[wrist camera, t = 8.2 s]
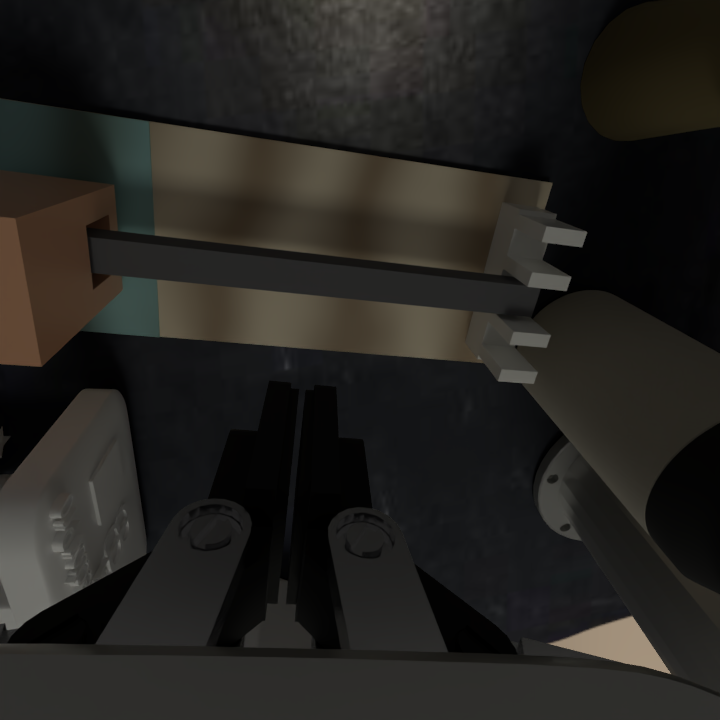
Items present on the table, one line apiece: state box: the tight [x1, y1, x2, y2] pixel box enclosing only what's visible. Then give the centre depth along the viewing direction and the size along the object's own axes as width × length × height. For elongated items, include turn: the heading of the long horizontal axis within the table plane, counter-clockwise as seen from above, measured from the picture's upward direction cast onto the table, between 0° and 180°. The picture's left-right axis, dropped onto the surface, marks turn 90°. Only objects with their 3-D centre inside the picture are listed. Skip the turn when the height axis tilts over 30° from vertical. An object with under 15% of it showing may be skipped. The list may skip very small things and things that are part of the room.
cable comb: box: [465, 202, 587, 384], centre depth 25 cm, size 2×8×6 cm, turn 172°
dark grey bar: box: [86, 228, 541, 317], centre depth 22 cm, size 30×2×2 cm, turn 82°
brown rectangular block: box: [0, 170, 123, 367], centre depth 19 cm, size 5×5×9 cm
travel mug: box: [517, 290, 720, 594], centre depth 22 cm, size 8×8×18 cm
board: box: [0, 98, 553, 363], centre depth 25 cm, size 33×11×1 cm, turn 82°
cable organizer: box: [0, 389, 146, 630], centre depth 25 cm, size 15×11×12 cm
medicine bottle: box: [244, 578, 312, 649], centre depth 34 cm, size 7×7×12 cm
